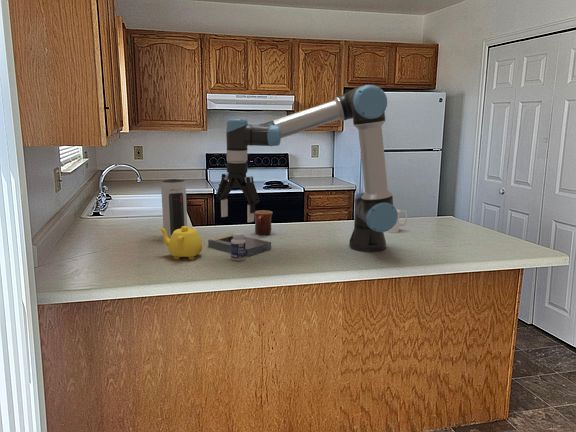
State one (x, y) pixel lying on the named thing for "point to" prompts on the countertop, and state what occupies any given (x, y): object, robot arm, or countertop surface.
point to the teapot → (183, 242)
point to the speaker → (173, 205)
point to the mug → (263, 222)
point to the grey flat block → (251, 245)
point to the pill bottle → (238, 247)
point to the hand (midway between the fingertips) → (237, 219)
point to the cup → (397, 223)
